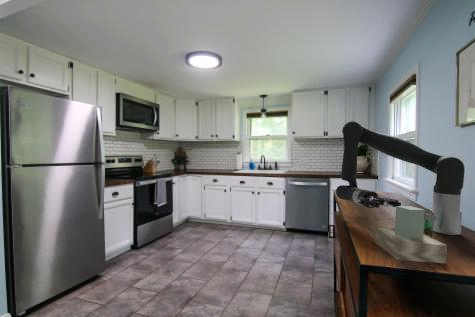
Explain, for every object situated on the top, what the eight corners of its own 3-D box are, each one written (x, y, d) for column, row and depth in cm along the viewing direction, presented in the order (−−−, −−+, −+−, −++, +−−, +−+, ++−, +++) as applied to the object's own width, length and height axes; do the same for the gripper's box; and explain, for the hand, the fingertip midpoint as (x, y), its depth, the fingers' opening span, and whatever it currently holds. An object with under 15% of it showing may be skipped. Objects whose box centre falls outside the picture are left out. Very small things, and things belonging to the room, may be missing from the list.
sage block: (408, 233, 86) (409, 206, 86) (423, 238, 81) (424, 209, 80) (394, 233, 85) (395, 206, 85) (408, 238, 80) (409, 209, 79)
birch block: (415, 246, 90) (415, 230, 90) (445, 264, 75) (446, 245, 75) (375, 243, 91) (375, 227, 91) (397, 261, 76) (398, 242, 76)
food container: (442, 241, 95) (444, 216, 95) (424, 240, 97) (426, 214, 96) (425, 232, 107) (426, 209, 107) (409, 230, 109) (410, 208, 108)
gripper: (350, 189, 110) (371, 195, 93) (380, 189, 110) (407, 196, 94) (349, 206, 110) (370, 214, 93) (380, 206, 110) (407, 215, 94)
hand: (389, 205), depth 94 cm, fingers open, 8 cm apart
